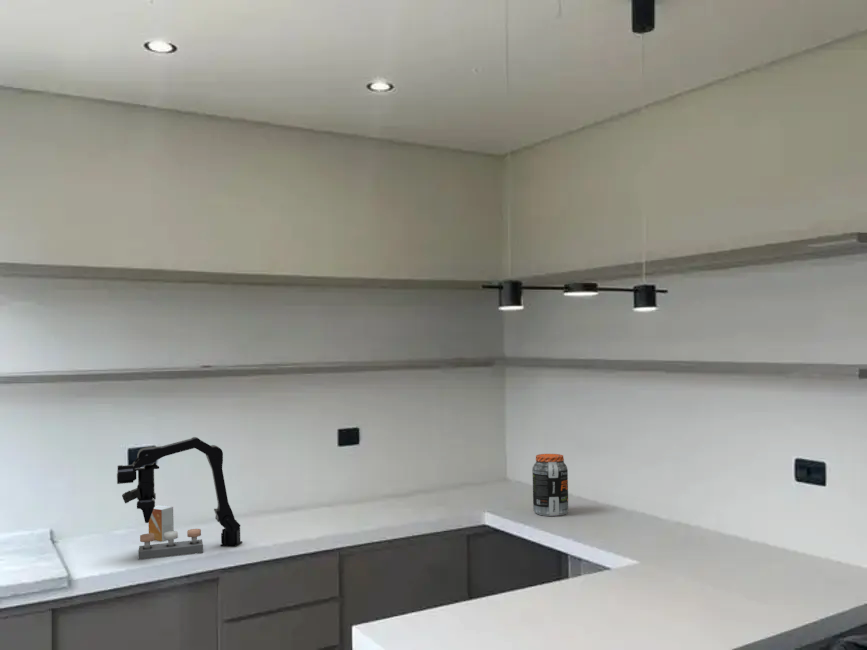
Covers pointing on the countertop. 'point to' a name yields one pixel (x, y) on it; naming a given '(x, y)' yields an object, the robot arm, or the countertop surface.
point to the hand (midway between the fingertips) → (146, 522)
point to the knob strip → (170, 549)
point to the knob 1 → (147, 539)
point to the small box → (161, 521)
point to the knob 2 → (194, 534)
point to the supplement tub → (550, 485)
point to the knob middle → (170, 537)
